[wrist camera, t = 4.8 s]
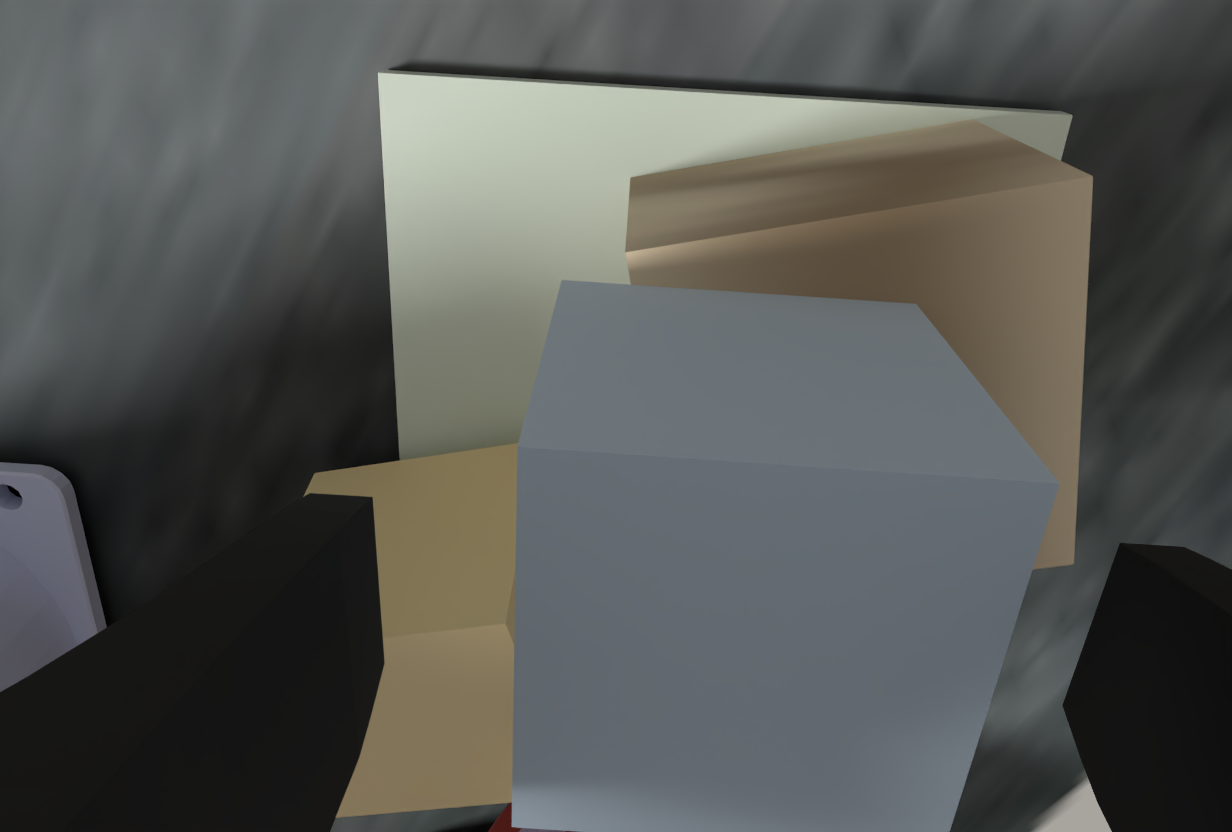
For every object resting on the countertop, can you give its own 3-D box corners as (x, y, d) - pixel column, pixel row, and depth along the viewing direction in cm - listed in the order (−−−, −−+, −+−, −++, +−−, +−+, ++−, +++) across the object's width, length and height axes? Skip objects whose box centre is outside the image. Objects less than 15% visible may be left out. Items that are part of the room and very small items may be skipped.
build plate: (408, 526, 17) (403, 539, 17) (385, 69, 14) (378, 72, 13) (946, 560, 17) (952, 572, 17) (1060, 110, 14) (1072, 115, 13)
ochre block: (393, 628, 18) (336, 817, 15) (314, 473, 16) (226, 656, 13) (590, 604, 18) (575, 796, 14) (537, 440, 15) (504, 623, 12)
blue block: (551, 571, 12) (512, 826, 9) (561, 279, 10) (516, 445, 7) (854, 592, 12) (942, 855, 9) (916, 304, 10) (1058, 482, 7)
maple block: (677, 465, 16) (688, 611, 12) (630, 177, 14) (625, 252, 10) (974, 424, 15) (1073, 564, 12) (972, 119, 13) (1092, 176, 10)
